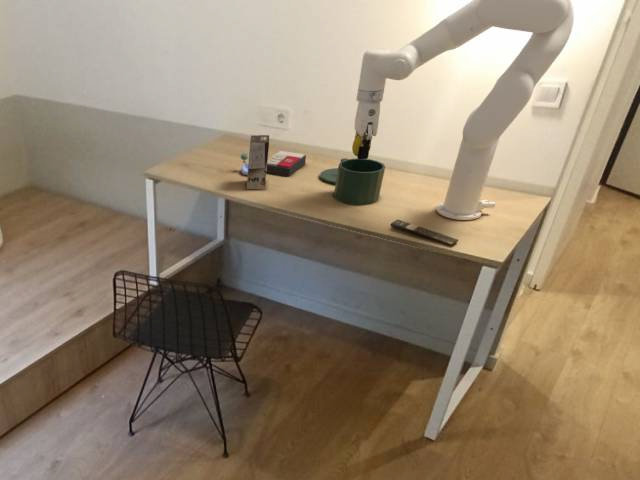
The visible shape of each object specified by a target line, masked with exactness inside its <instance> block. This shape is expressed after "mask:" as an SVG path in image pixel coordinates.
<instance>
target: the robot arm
mask: <svg viewBox="0 0 640 480" xmlns="http://www.w3.org/2000/svg"><path fill="white" fill-rule="evenodd" d="M573 7H574V6H573V4H572V2H571V0H471V1H469V3H468V2H467V4H465V5H464V6H462V7H460V8H459V9H458V10H456V11H454V12H453V13H451V14H449V15H448V16H447V17H445V18H444V19H441V21H440V22H438V23H437V24H436V25H435V26H433V27H432V28H430V29H429V30H427V31H426V32H424V33H422V34H421V35H419V36H418V37H416V38H414V39H413V40H412V41H410V42H409V43H407V44H405V45H404V46H402V47H400V48H399V49H398V50H397V51H395V52H394V51H393V52H391V51H389V50H388V49H386V48H370V49H367V50H366V51H365V52H364V53H363V56H362V60H361V68H360V74H359V81H358V88H357V94H356V102H358V103H357V107H356V113H355V118H354V126H353V127H354V130H355V134H354V139H355V138H356V137H357V136H358V135H360V136H361V146H359V151H358V157H357V156H356V157H357V158H356V159H369V155H370V150H371V148H370V145H371V146H372V140H373V137H376V136H377V134H378V128H379V121H380V113H381V102H382V101H383V100H384V92H385V87H386V81H387V79H388V80H391V81H392V80H394V81H403V80H405V79H408V77H410V76H411V75H412V73H414V71H415V70H417V69H418V68H420V67H421V66H423V65H424V64H426V63H428V62H430V61H431V60H434V58H436V57H437V56H440V55H442V54H443V53H446V52H448V51H452V50H455V49H458V48H460V47H461V46H463V45H465V44H466V43H468V42H469V41H471V40H473V39H475V38H477V36H479V35H481V34H483V33H484V32H486V31H487V30H489V29H490V28H492V27H494V28H498V29H504V30H505V29H506V30H512V31H520V32H525V33H532V34H531V36H530V37H529V40H527V42H526V44H525V45H524V46H523V47H522V48H521V51H519V54H518V55H517V56H516V57H515V58H514V60H513V61H512V62H511V64H510V65H509V66H508V67H507V68H506V69H505V71H504V72H503V73H502V74H501V75H500V76H499V77H498V78H497V80H496V81H495V83H494V86H493V87H492V89H491V90H490V91H489V93H488V94H487V96H486V97H485V98H484V99H483V100H482V102H481V103H480V105H479V106H477V107H476V108H475V109H473V110H472V111H471V112H470V114H469V115H468V117H467V119H466V121H465V123H464V125H463V129H462V138H461V142H460V145H459V149H458V152H457V156H456V160H455V162H454V166H453V170H452V174H451V176H450V181H449V185H448V188H447V191H446V195H445V198H444V201H443V202H442V203H440V204H438V205H437V208H436V212H437V214H439V215H441V216H442V217H445V218H448V219H452V220H457V221H458V220H459V221H472V220H476V219H478V218H480V217H481V216H482V213H483V212H482V210H484V209H495V207H496V202H495V201H488V199H481V198H482V195H483V192H484V188H485V184H486V182H487V179H488V175H489V173H490V169H491V166H492V163H493V159H494V157H495V154H496V150H497V147H498V144H499V141H500V139H501V138H500V137H501V136H502V135H503V134H504V133H505V132H506V130H507V129H508V128H509V127H510V125H511V124H512V123H513V122H514V121H515V119H516V118H517V117H518V116H519V114H520V113H521V112H522V111H523V110H524V108H525V107H526V106H527V104H528V103H529V102H530V100H531V97H532V96H533V92H534V91H535V90H534V89H535V87H536V86H537V84H538V83H539V81H540V80H541V79H542V77H544V75H545V74H546V72H547V71H548V70H549V69H550V68H551V66H552V65H553V63H554V62H555V61H556V59H557V58H558V57H559V55H561V53H562V52H563V50H564V48H565V46H566V45H567V44H568V41H569V39H570V36H571V34H572V30H573V27H574V19H575V18H574V17H575V14H574V8H573ZM364 134H367V135H365V136H363V135H364ZM364 138H366V139H365V140H364ZM369 149H370V150H369Z"/></svg>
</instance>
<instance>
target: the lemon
mask: <svg viewBox="0 0 640 480" xmlns="http://www.w3.org/2000/svg"><path fill="white" fill-rule="evenodd" d="M365 135H367V134H364V135H363V136H365ZM365 139H366V138H364V140H365ZM359 146H361V136H360V135H358V136H357V137H356V138H355V137H354V139H353V142H352V147H351V150H352V153H353V155H354V156H355V157H358V151H359ZM371 147H372V144H371V145H370V149H369V151H370V150H371Z"/></svg>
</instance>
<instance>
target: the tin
mask: <svg viewBox="0 0 640 480" xmlns="http://www.w3.org/2000/svg"><path fill="white" fill-rule="evenodd" d="M347 159H348V160H344V161H342V162H341V161H340V162H339V164H338V166H337V168H338V173H337V179H336V183H335V186H334V191H333V197H334V199H335V200H337V201H339V202H340V203H343V204H347V205H356V206H363V205H364V206H365V205H372V204H374V203H377V201H379V197H380V195H381V191H382V190H381V189H382V186H383V180H384V176H385V170H386V165H385V164H384V163H383V162H380V161H378V160H375V159H371V158H367V159H358V158H347Z"/></svg>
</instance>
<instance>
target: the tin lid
mask: <svg viewBox="0 0 640 480" xmlns="http://www.w3.org/2000/svg"><path fill="white" fill-rule="evenodd" d="M348 159H349V158H341V159H340V162H342V161H344V160H348ZM337 173H338V167H335V168H334V167H333V168H328V169H325V170H322V171H321V172H320V174H319V177H320V178H321V180H323V181H325V182H328V183H330V184H336V179H337Z"/></svg>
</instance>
